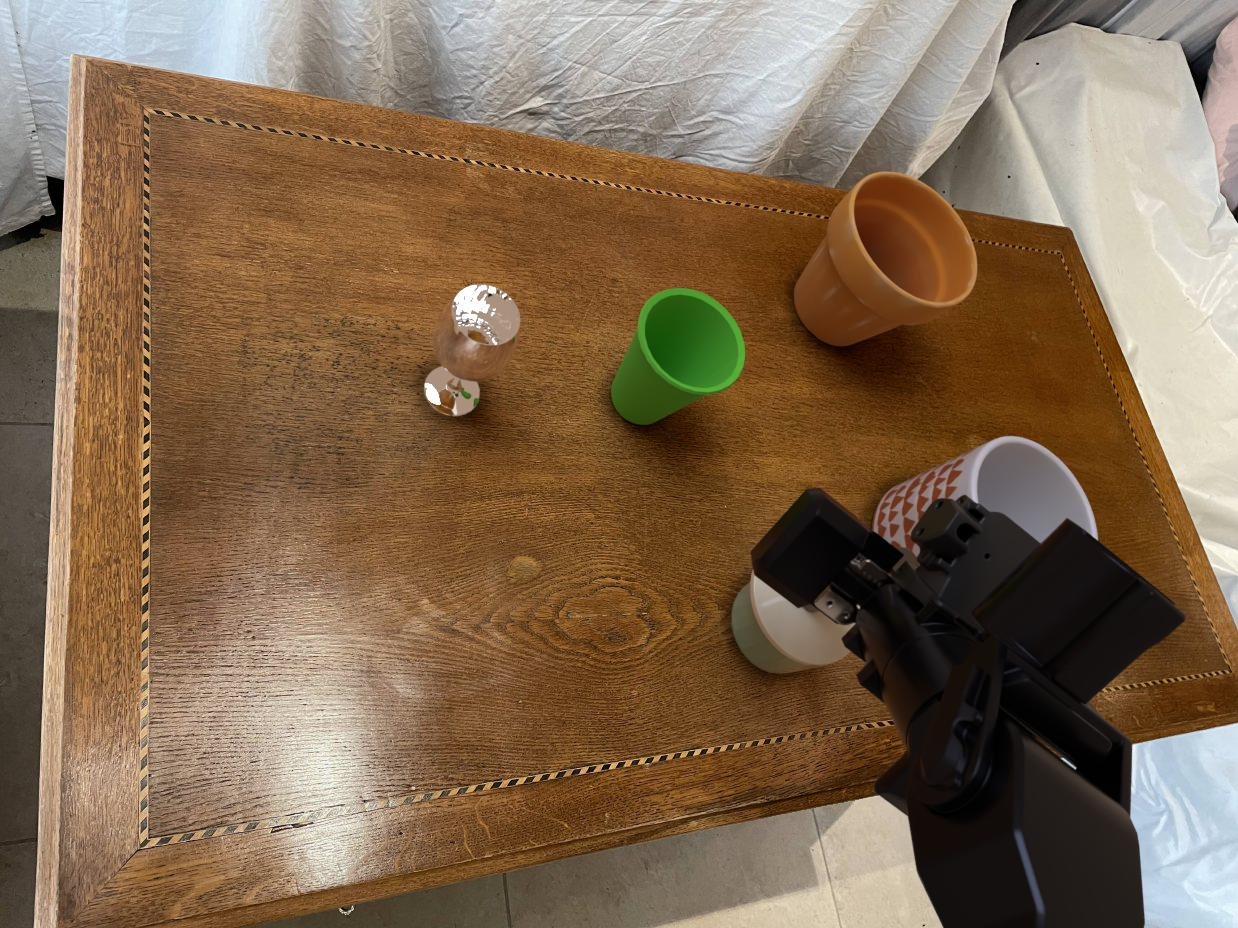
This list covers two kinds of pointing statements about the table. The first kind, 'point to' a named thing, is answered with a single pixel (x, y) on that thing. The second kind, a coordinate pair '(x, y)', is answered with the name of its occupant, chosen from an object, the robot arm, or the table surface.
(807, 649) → the pole on white disc
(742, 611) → the tumbler
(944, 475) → the planter
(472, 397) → the wineglass
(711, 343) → the cup
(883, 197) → the flower pot
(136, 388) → the table surface
